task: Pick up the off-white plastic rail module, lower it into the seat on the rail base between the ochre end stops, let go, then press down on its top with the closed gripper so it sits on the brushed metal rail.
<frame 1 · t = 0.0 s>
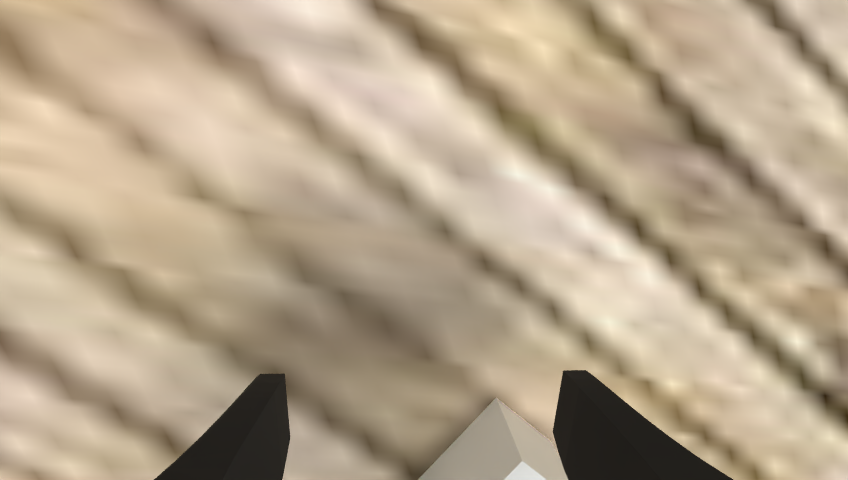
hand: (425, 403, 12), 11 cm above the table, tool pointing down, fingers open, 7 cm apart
rail module: (478, 464, 25), on the table
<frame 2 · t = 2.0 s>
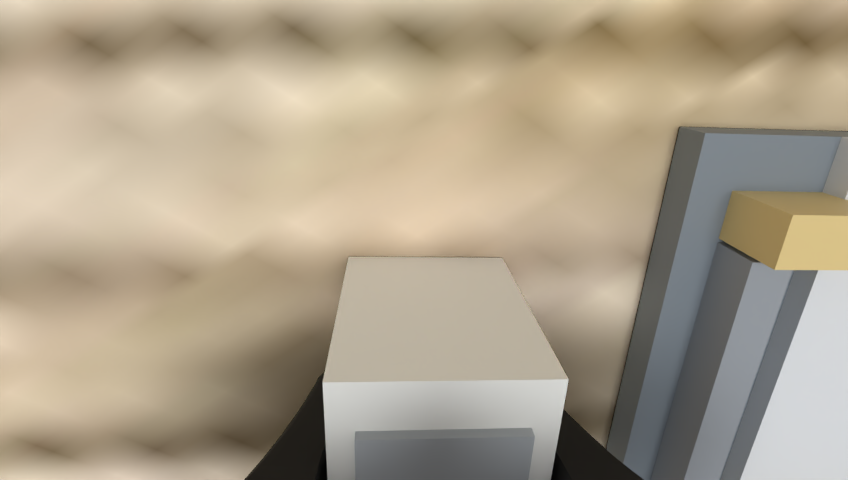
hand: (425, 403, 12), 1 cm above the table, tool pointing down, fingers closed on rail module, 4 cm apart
rail module: (421, 369, 14), on the table, touching gripper
rail base: (784, 366, 14), on the table
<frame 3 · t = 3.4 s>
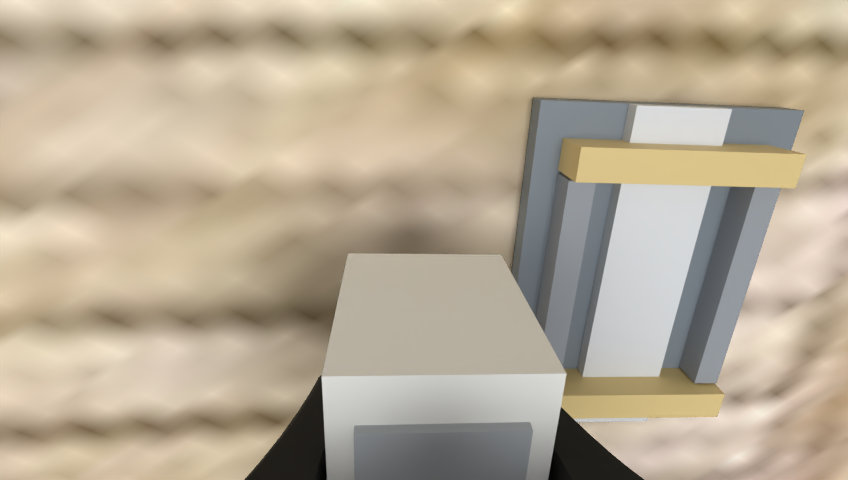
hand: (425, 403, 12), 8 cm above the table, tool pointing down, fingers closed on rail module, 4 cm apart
rail module: (420, 366, 14), point 7 cm above the table, touching gripper
rail base: (624, 268, 21), on the table
when the fingers open (4 cm above the table, at t = 5.2 s): rail module stays where it is, resting on rail base.
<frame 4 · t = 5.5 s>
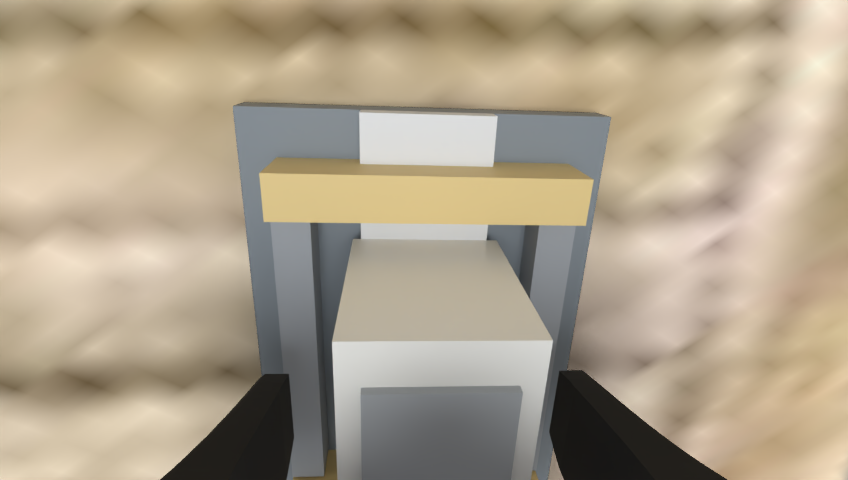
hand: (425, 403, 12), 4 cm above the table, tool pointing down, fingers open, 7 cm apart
rail module: (421, 346, 14), point 2 cm above the table, touching rail base
rail base: (417, 322, 16), on the table
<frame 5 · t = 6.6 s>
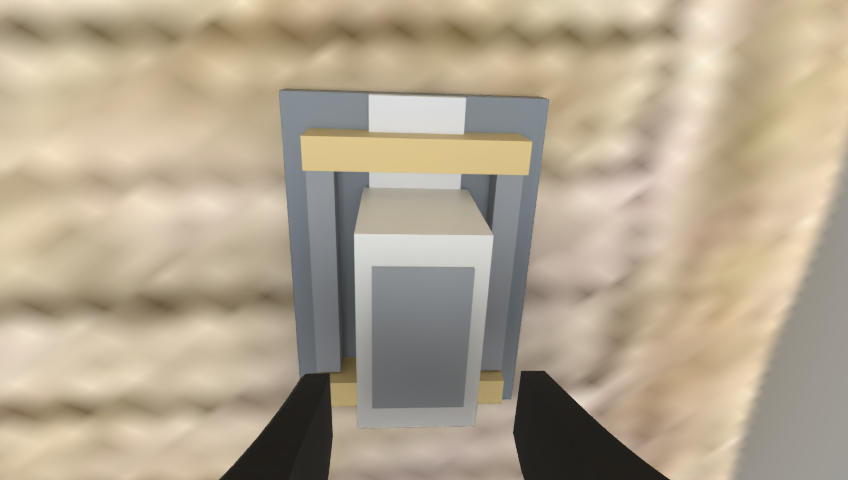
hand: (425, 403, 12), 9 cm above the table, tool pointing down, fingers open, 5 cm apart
rail module: (413, 271, 19), point 2 cm above the table, touching rail base
rail base: (411, 257, 21), on the table
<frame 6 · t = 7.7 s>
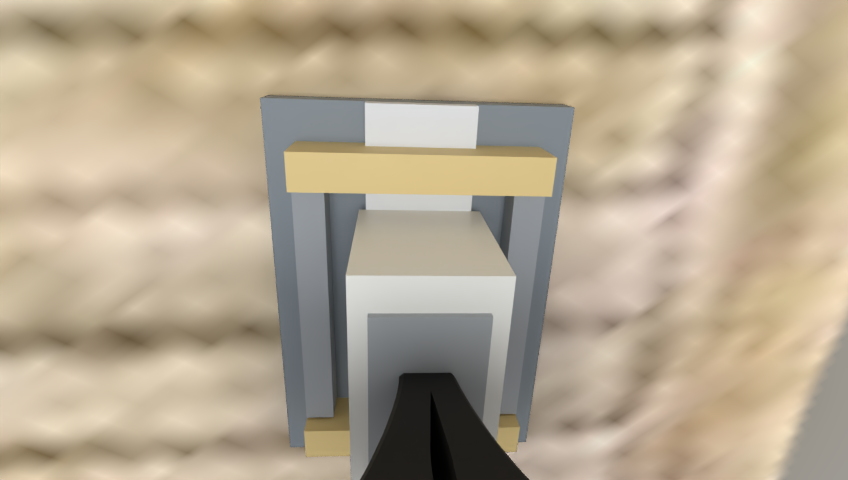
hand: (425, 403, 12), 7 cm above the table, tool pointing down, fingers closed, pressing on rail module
rail module: (416, 303, 17), point 2 cm above the table, touching gripper, rail base
rail base: (413, 286, 18), on the table
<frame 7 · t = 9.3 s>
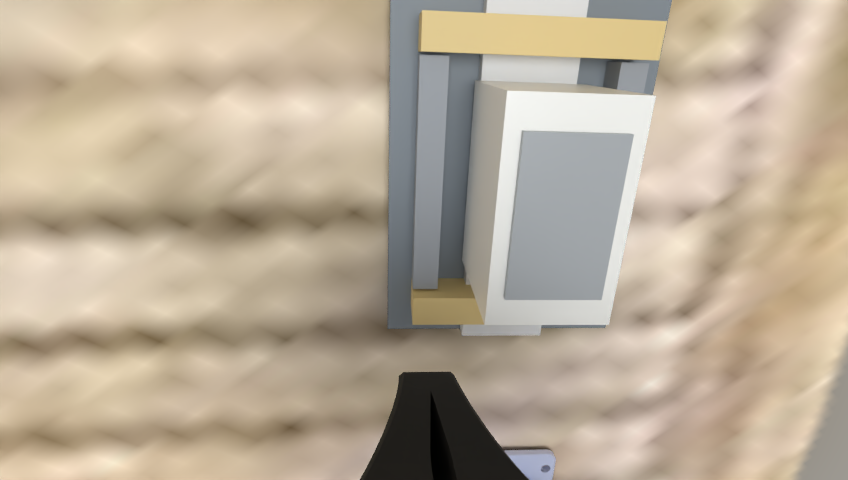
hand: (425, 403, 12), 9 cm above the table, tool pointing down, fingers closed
rail module: (519, 177, 18), point 2 cm above the table, touching rail base
rail base: (508, 170, 20), on the table
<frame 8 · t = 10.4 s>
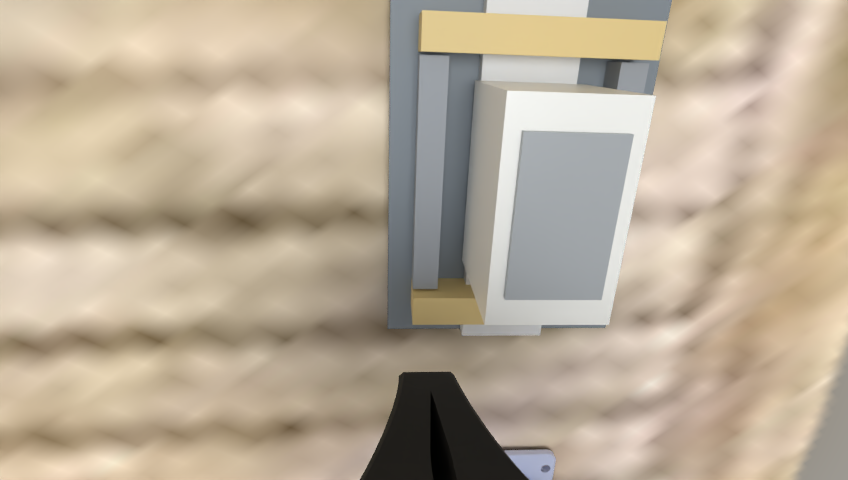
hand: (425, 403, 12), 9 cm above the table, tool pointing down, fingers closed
rail module: (519, 177, 18), point 2 cm above the table, touching rail base
rail base: (508, 170, 20), on the table
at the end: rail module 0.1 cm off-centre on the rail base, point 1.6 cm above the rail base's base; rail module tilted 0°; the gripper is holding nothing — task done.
